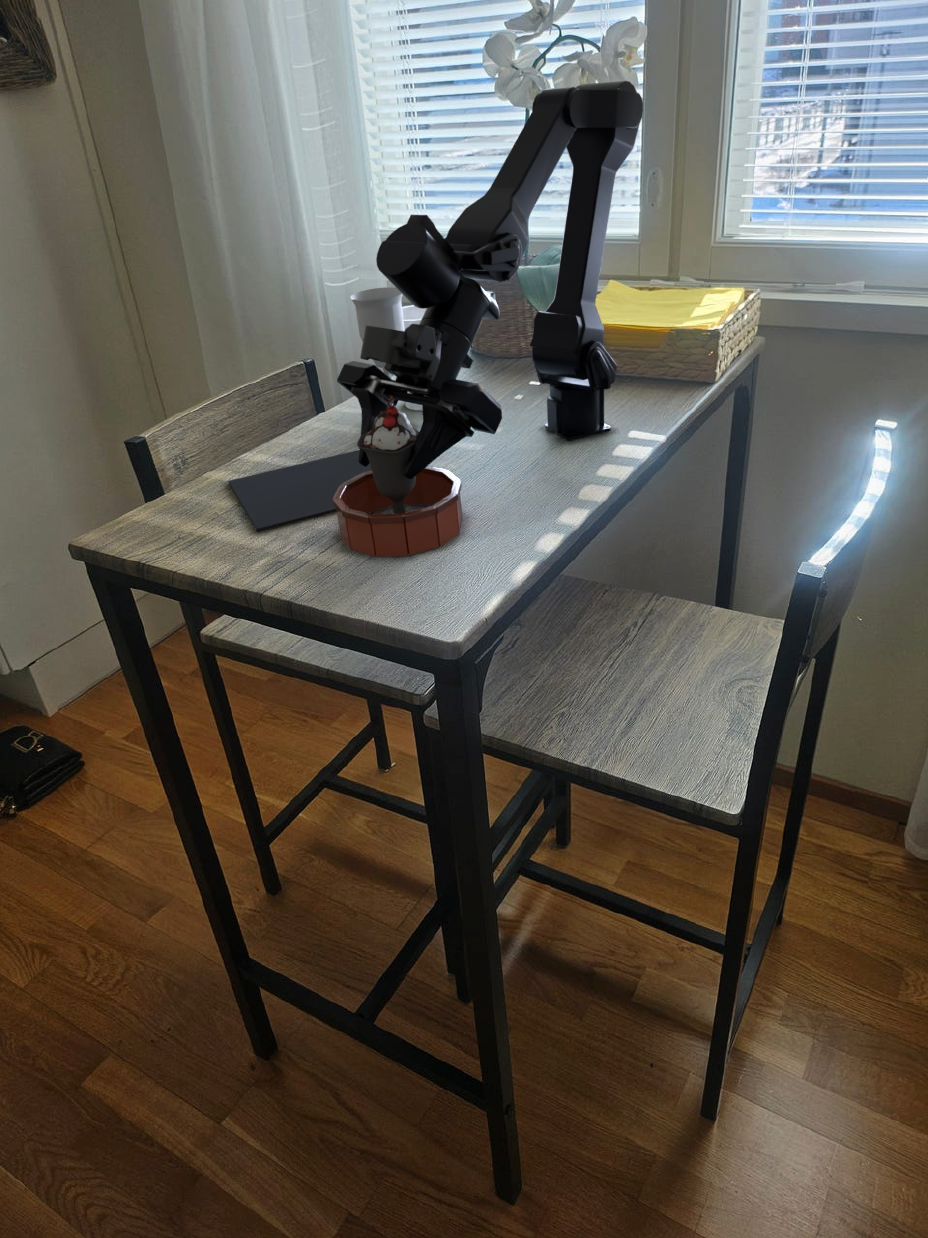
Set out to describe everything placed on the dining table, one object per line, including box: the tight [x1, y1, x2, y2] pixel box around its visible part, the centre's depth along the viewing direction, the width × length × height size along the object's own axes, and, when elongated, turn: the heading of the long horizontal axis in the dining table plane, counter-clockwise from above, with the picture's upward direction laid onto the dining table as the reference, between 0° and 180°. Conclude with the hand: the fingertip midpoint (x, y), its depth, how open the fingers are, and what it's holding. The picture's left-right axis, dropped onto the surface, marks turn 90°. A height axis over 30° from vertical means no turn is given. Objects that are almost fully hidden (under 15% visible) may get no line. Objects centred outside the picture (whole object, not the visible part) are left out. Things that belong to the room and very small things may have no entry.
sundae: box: [356, 395, 420, 514], centre depth 90 cm, size 7×7×15 cm
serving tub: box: [333, 465, 464, 558], centre depth 93 cm, size 13×13×4 cm
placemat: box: [228, 449, 372, 533], centre depth 106 cm, size 20×16×1 cm
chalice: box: [349, 286, 413, 427], centre depth 116 cm, size 7×7×18 cm
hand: (384, 470), depth 90 cm, fingers closed on sundae, 6 cm apart
